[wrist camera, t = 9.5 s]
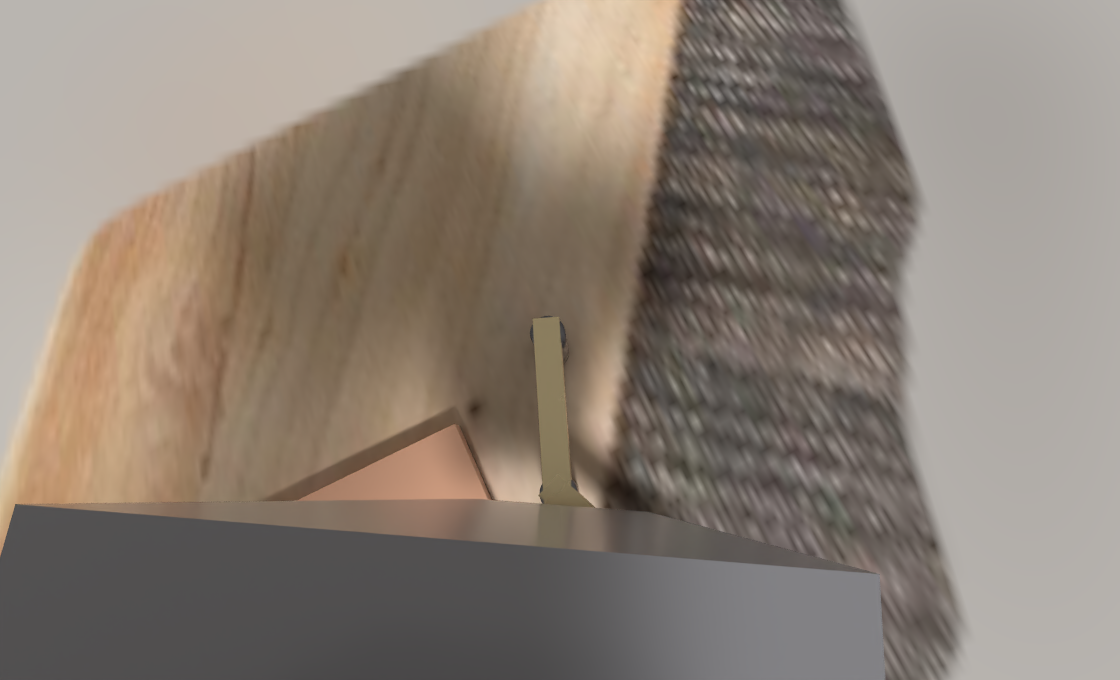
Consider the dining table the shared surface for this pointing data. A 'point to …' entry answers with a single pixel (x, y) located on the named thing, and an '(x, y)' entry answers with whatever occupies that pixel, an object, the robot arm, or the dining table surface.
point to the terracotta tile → (414, 473)
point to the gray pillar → (418, 595)
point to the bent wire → (553, 414)
